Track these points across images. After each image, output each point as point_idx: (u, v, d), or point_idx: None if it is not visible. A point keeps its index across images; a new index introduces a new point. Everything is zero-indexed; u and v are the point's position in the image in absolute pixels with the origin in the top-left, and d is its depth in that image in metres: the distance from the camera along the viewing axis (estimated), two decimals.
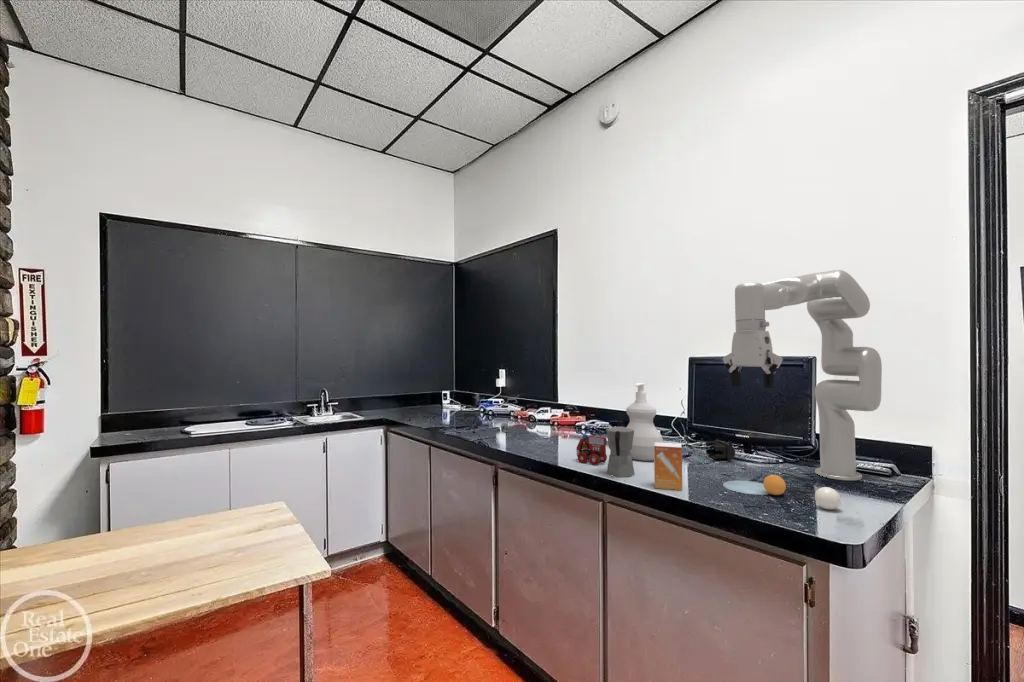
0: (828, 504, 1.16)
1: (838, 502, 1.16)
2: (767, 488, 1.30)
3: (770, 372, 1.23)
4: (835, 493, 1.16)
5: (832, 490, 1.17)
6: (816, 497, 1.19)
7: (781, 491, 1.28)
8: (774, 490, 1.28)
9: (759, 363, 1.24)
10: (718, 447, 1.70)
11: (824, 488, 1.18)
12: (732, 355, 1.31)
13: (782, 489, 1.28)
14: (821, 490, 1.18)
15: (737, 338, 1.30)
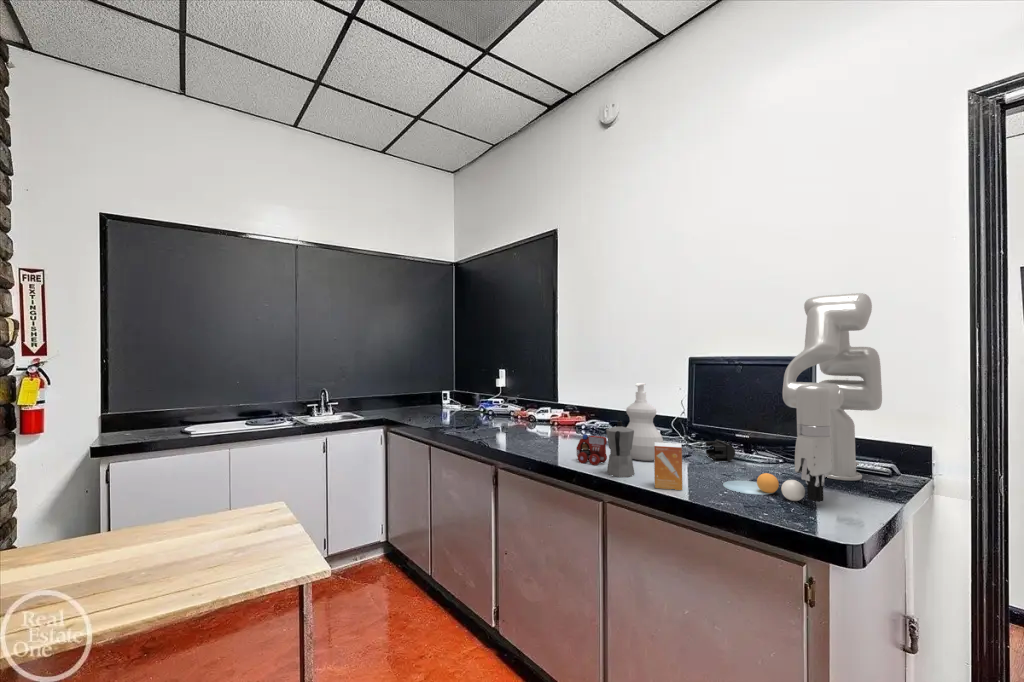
0: (786, 486, 1.24)
1: (783, 483, 1.27)
2: (762, 487, 1.31)
3: None
4: None
5: None
6: (794, 496, 1.23)
7: (774, 483, 1.30)
8: (768, 485, 1.30)
9: (830, 469, 1.21)
10: (718, 447, 1.70)
11: (788, 498, 1.25)
12: (813, 465, 1.17)
13: (774, 480, 1.30)
14: None
15: (818, 445, 1.18)
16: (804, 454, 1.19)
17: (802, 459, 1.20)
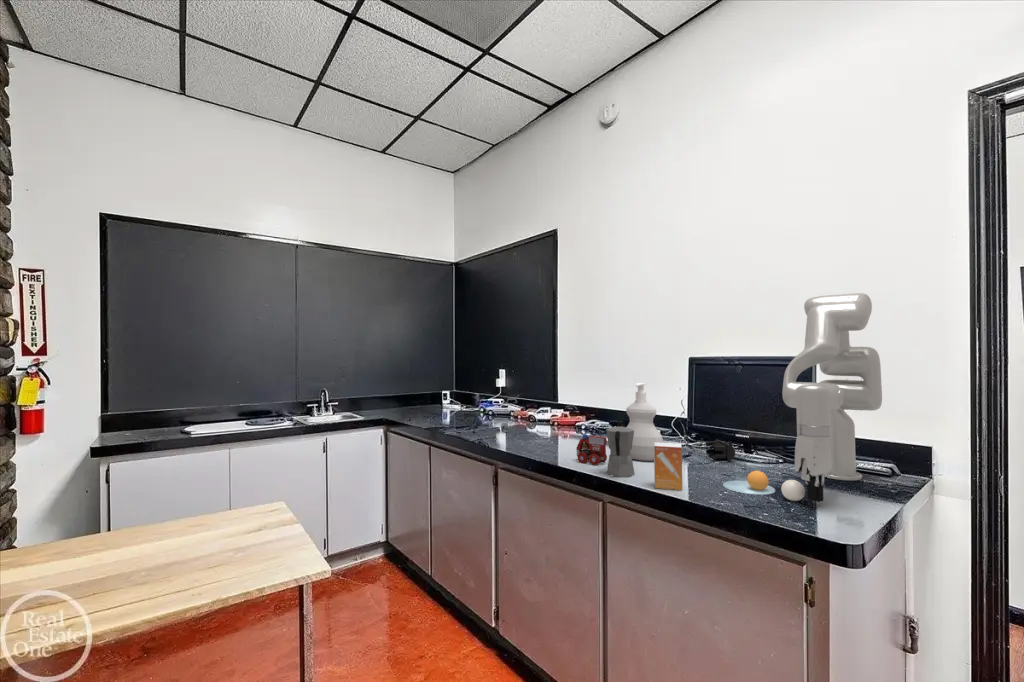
0: (786, 486, 1.24)
1: (783, 483, 1.27)
2: (754, 483, 1.33)
3: None
4: None
5: None
6: (794, 496, 1.23)
7: (758, 472, 1.34)
8: (755, 476, 1.33)
9: (830, 469, 1.21)
10: (718, 447, 1.70)
11: (788, 498, 1.25)
12: (813, 465, 1.17)
13: (756, 471, 1.35)
14: None
15: (818, 445, 1.18)
16: (804, 454, 1.19)
17: (802, 459, 1.20)
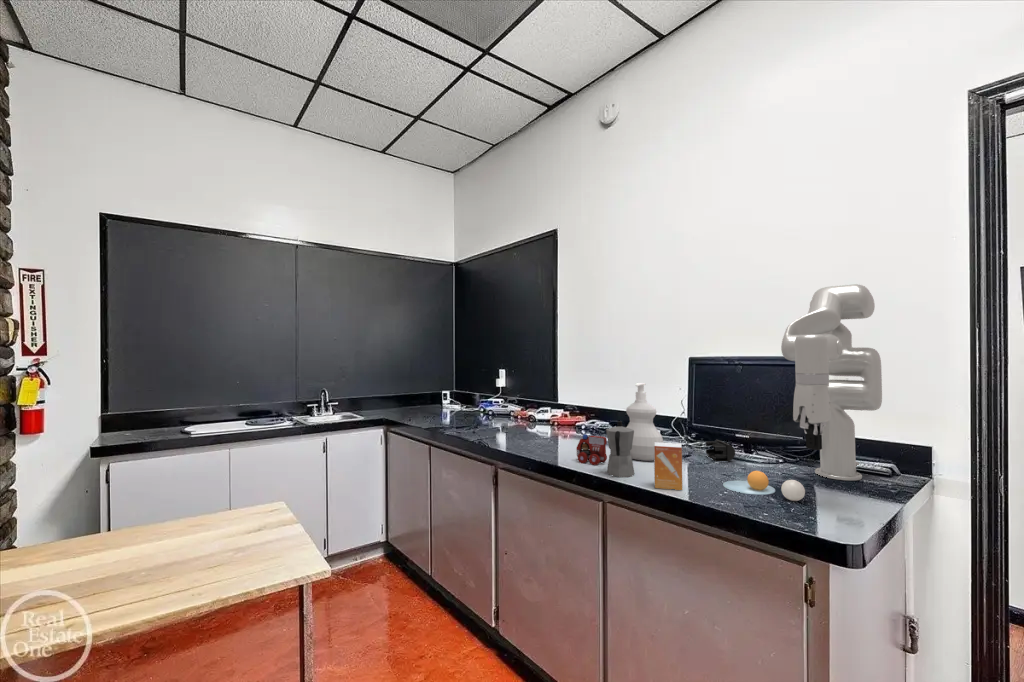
0: (786, 486, 1.24)
1: (783, 483, 1.27)
2: (754, 483, 1.33)
3: None
4: None
5: None
6: (794, 496, 1.23)
7: (758, 472, 1.34)
8: (755, 476, 1.33)
9: (828, 418, 1.21)
10: (718, 447, 1.70)
11: (788, 498, 1.25)
12: (812, 412, 1.18)
13: (756, 471, 1.35)
14: None
15: (816, 393, 1.18)
16: (802, 402, 1.19)
17: (801, 407, 1.20)
